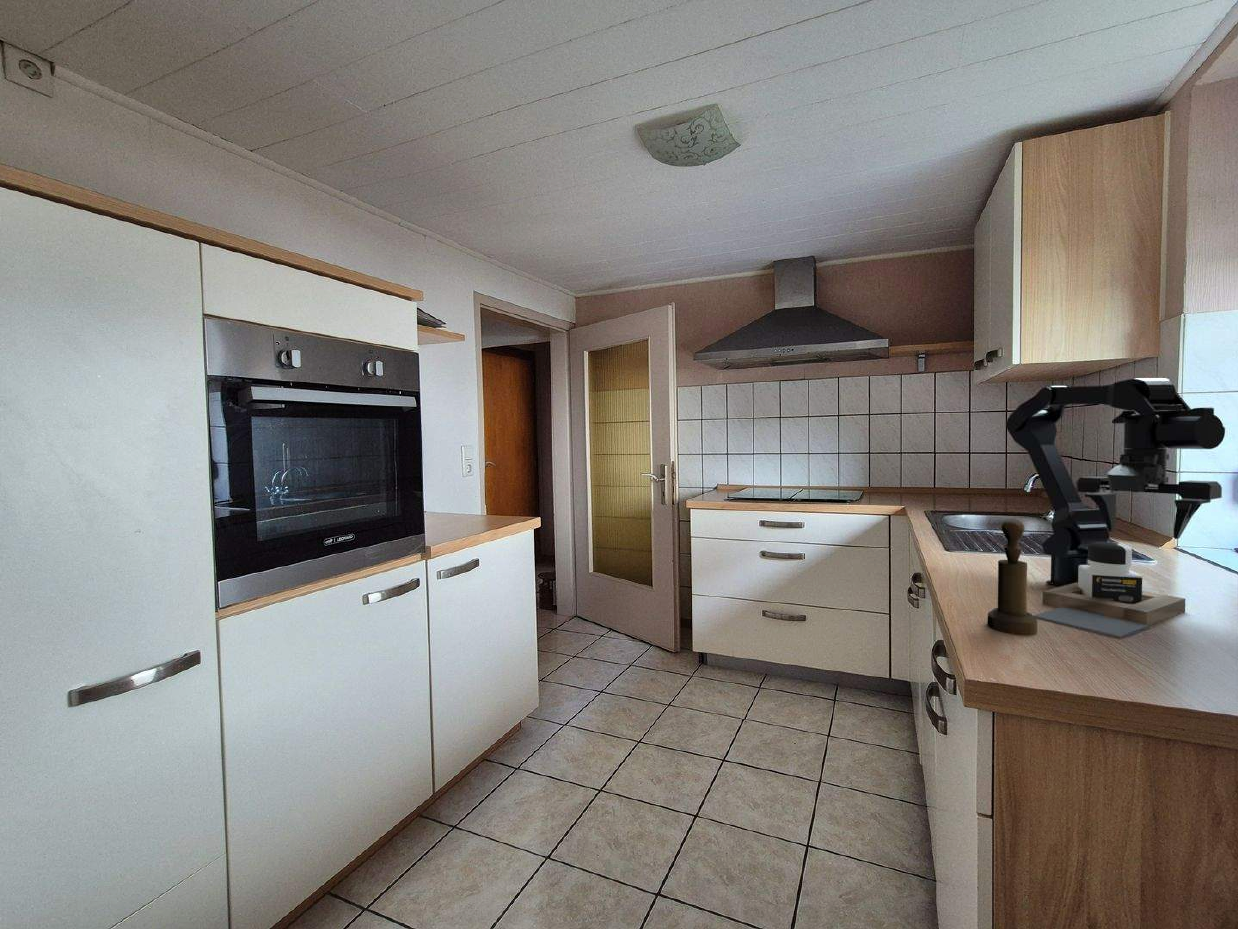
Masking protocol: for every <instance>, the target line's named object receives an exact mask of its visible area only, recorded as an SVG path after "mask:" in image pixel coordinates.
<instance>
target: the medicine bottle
mask: <svg viewBox="0 0 1238 929" xmlns="http://www.w3.org/2000/svg"><path fill="white" fill-rule="evenodd" d="M1132 554H1133V549H1132V548H1131V547H1130V546H1129V545H1126V544H1124V543H1120V542H1110V541H1107V542H1094V543H1091V544H1089V545H1088V564H1090V565H1079V568H1078V587H1079V588H1081V589H1082V595H1085V596H1090V597H1095V598H1100V599H1105V600H1110V601H1115V602H1120V603H1126V604H1131V605H1133V604H1136V603H1139V602H1142V591H1143V576H1142V575H1141V574H1139V573H1137V572H1134V571H1133V570H1130V569H1131V568H1132V564H1133V563H1132V559H1133V557H1132V556H1133V555H1132Z"/></svg>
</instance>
